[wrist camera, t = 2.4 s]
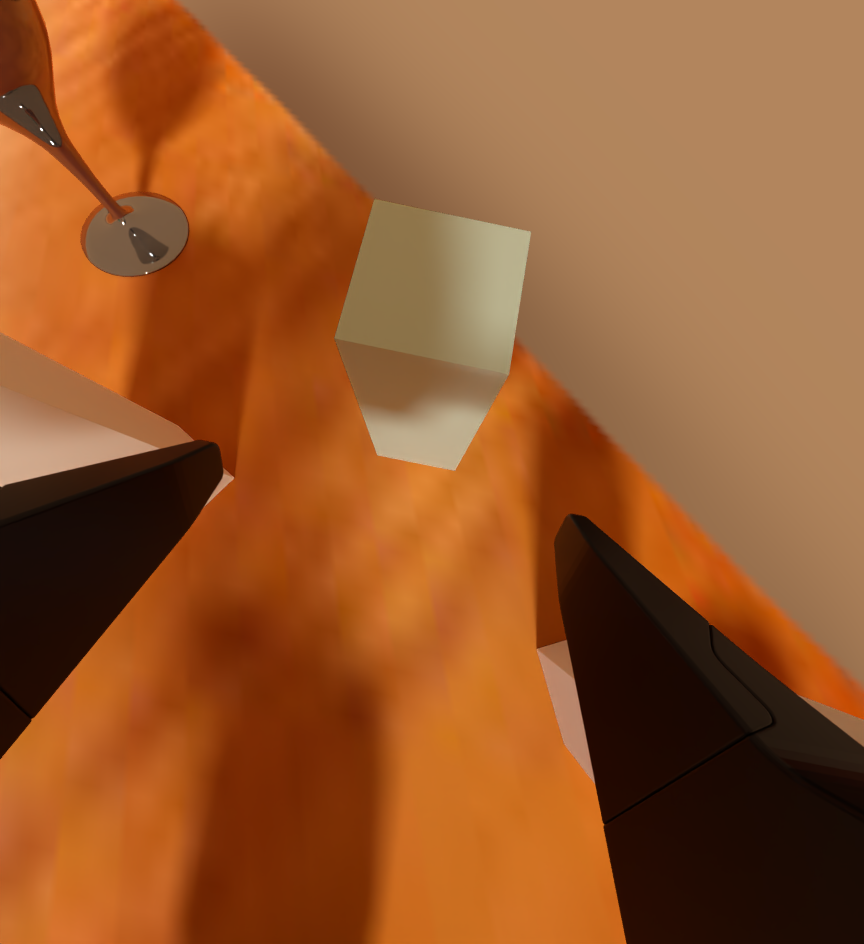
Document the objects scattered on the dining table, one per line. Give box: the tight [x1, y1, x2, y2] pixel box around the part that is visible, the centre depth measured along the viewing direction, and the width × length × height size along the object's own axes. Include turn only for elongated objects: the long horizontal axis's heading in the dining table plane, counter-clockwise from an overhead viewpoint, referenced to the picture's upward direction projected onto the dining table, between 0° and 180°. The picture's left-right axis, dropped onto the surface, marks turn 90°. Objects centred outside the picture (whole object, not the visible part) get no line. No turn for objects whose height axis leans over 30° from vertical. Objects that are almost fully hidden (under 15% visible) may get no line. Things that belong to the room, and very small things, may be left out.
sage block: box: [334, 199, 531, 471], centre depth 16 cm, size 5×5×12 cm
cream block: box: [0, 333, 234, 508], centre depth 15 cm, size 5×5×12 cm
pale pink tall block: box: [537, 640, 864, 783], centre depth 14 cm, size 5×5×12 cm
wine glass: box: [0, 0, 189, 277], centre depth 17 cm, size 8×8×15 cm
